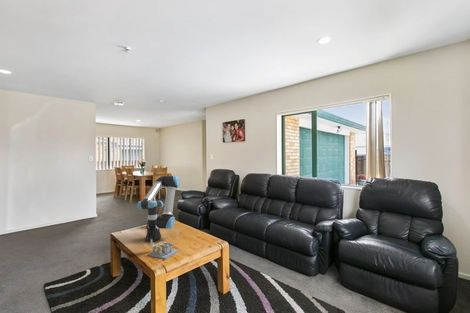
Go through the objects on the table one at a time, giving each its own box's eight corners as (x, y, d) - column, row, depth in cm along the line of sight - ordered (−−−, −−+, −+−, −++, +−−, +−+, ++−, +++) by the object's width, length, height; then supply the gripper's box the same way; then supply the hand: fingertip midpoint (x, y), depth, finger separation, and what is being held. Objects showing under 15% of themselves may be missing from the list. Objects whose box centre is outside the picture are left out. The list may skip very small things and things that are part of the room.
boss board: (148, 255, 190) (148, 245, 190) (162, 248, 205) (162, 238, 205) (165, 259, 183) (165, 248, 183) (178, 251, 197) (178, 241, 197)
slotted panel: (152, 252, 192) (152, 245, 192) (161, 248, 202) (161, 241, 202) (161, 254, 188) (160, 247, 188) (169, 249, 198) (169, 243, 198)
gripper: (143, 219, 198) (143, 246, 198) (155, 220, 193) (155, 248, 192) (150, 217, 205) (150, 243, 205) (161, 218, 199) (161, 245, 199)
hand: (152, 246), depth 198 cm, fingers closed
